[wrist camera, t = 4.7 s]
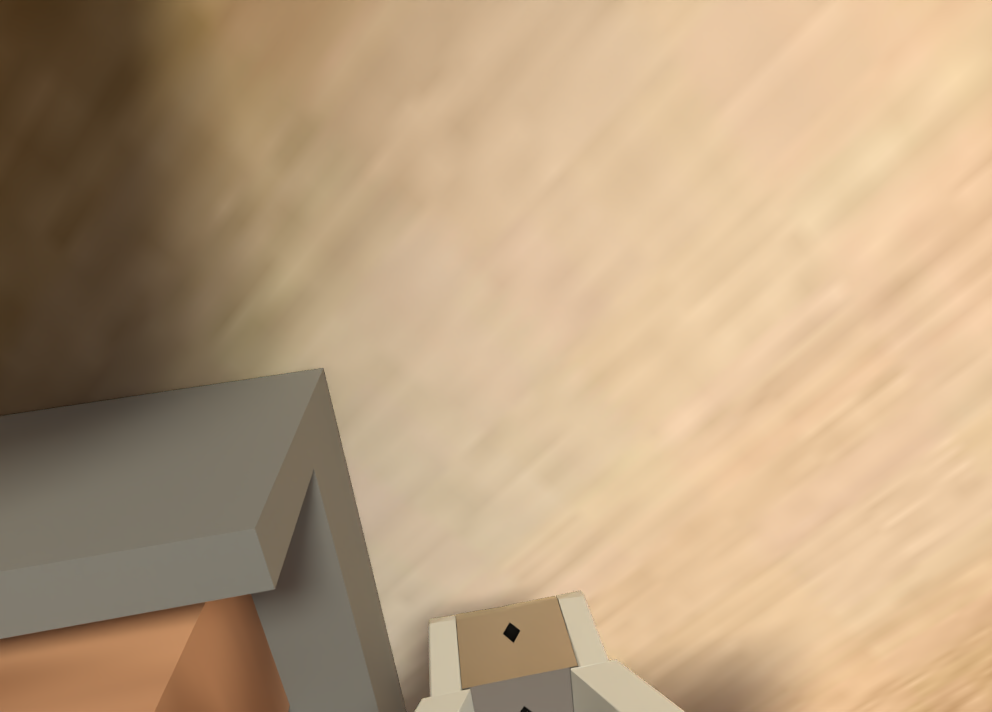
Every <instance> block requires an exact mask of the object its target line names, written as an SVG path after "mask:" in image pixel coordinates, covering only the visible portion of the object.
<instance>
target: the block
mask: <svg viewBox="0 0 992 712" xmlns="http://www.w3.org/2000/svg"><path fill="white" fill-rule="evenodd" d="M289 707H290V705H289V702H288V699H287V696H286V693H285V690H284V687H283V684H282V682H281V679H280V676H279V673H278V670H277V667H276V664H275V662H274V659H273V656H272V653H271V650H270V647H269V644H268V642H267V639H266V636H265V633H264V630H263V627H262V624H261V621H260V619H259V616H258V613H257V610H256V607H255V604H254V601H253V599H252V596H251V594H247V595H241V596H236V597H230V598H225V599H219V600H214V601H208V602H202V603H197V604H191V605H186V606H180V607H175V608H169V609H164V610H158V611H152V612H147V613H141V614H136V615H130V616H125V617H119V618H114V619H108V620H102V621H97V622H91V623H86V624H80V625H75V626H69V627H64V628H58V629H52V630H47V631H41V632H36V633H30V634H25V635H19V636H14V637H8V638H2V639H0V712H288V711H289Z"/></svg>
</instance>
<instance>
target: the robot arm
mask: <svg viewBox="0 0 992 712" xmlns="http://www.w3.org/2000/svg"><path fill="white" fill-rule="evenodd" d="M428 637H429V682H430V697H427V698H422V699H421V701H420V703H419V704H418V706H417V708H416V709H415V711H414V712H685V711H683V710H682V709H681V708H680V707H678V706H677V705H676V704H674V703H673V702H672V701H670V700H669V699H668V698H667V697H665V696H664V695H663V694H661V693H660V692H659V691H657V690H656V689H655V688H653V687H652V686H651V685H650V684H648V683H647V682H646V681H644V680H643V679H642V678H640V677H639V676H638V675H636V674H635V673H634V672H633V671H631V670H630V669H629V668H627V667H626V666H625V665H623V664H622V663H621V662H620V661H618V660H617V659H616V660H610V661H609V659H608V657H607V654H606V651H605V649H604V646H603V643H602V641H601V638H600V635H599V633H598V630H597V628H596V625H595V622H594V620H593V617H592V614H591V612H590V609H589V606H588V604H587V601H586V598H585V596H584V594H583V593H582V592H581V591H576V592H571V593H566V594H561V595H556V597H555V596H551V597H546V598H541V599H536V600H531V601H526V602H521V603H516V604H511V605H506V606H503V607H497V608H491V609H485V610H478V611H472V612H466V613H460V614H456V615H451V616H445V617H439V618H433V619H430V620H429V625H428Z"/></svg>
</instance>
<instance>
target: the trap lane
mask: <svg viewBox="0 0 992 712" xmlns="http://www.w3.org/2000/svg"><path fill="white" fill-rule="evenodd" d="M247 594H251V596H252V599H253V601H254V604H255V607H256V610H257V613H258V616H259V619H260V621H261V624H262V627H263V630H264V633H265V636H266V639H267V642H268V644H269V647H270V650H271V653H272V656H273V659H274V662H275V664H276V667H277V670H278V673H279V676H280V679H281V682H282V684H283V687H284V690H285V693H286V696H287V699H288V702H289V705H290V707H289V711H288V712H406V709H405V704H404V700H403V696H402V692H401V688H400V684H399V680H398V675H397V671H396V667H395V663H394V659H393V655H392V651H391V646H390V642H389V638H388V634H387V630H386V626H385V622H384V617H383V613H382V609H381V605H380V601H379V597H378V593H377V588H376V584H375V580H374V576H373V572H372V568H371V564H370V559H369V555H368V551H367V547H366V543H365V539H364V535H363V531H362V526H361V522H360V518H359V514H358V510H357V506H356V502H355V497H354V493H353V489H352V485H351V481H350V477H349V473H348V468H347V464H346V460H345V456H344V452H343V448H342V444H341V439H340V435H339V431H338V427H337V423H336V419H335V415H334V410H333V406H332V402H331V398H330V394H329V390H328V386H327V381H326V377H325V373H324V369H323V368H320V369H314V370H307V371H300V372H293V373H287V374H280V375H273V376H266V377H260V378H253V379H246V380H240V381H233V382H226V383H219V384H213V385H206V386H199V387H192V388H186V389H179V390H172V391H165V392H159V393H152V394H145V395H139V396H132V397H125V398H118V399H112V400H105V401H98V402H91V403H85V404H78V405H71V406H65V407H58V408H51V409H44V410H38V411H31V412H24V413H17V414H11V415H4V416H0V639H2V638H8V637H14V636H19V635H25V634H30V633H36V632H41V631H47V630H52V629H58V628H64V627H69V626H75V625H80V624H86V623H91V622H97V621H102V620H108V619H114V618H119V617H125V616H130V615H136V614H141V613H147V612H152V611H158V610H164V609H169V608H175V607H180V606H186V605H191V604H197V603H202V602H208V601H214V600H219V599H225V598H230V597H236V596H241V595H247Z"/></svg>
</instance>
